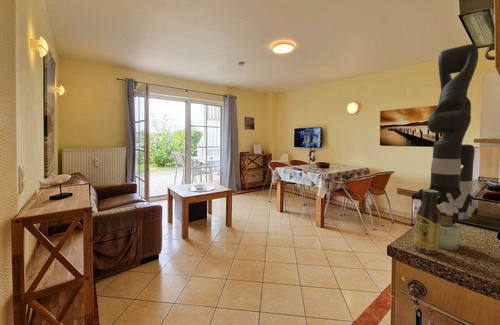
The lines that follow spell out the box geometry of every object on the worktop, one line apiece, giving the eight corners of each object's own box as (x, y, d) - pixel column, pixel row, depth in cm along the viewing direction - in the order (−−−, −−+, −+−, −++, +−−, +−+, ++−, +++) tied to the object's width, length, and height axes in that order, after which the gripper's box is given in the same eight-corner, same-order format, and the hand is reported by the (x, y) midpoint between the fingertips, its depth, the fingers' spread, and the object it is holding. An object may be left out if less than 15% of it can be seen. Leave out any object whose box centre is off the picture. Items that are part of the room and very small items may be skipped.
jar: (426, 236, 85) (427, 217, 84) (459, 243, 79) (460, 223, 78) (422, 244, 79) (423, 224, 78) (458, 252, 72) (459, 231, 72)
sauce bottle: (409, 246, 77) (411, 188, 75) (428, 246, 77) (431, 188, 75) (423, 256, 70) (426, 192, 69) (444, 256, 70) (448, 192, 69)
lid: (433, 219, 82) (433, 209, 82) (453, 223, 78) (454, 212, 78) (431, 223, 78) (431, 212, 78) (452, 227, 74) (453, 216, 74)
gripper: (475, 172, 74) (471, 223, 76) (420, 169, 84) (418, 214, 86) (475, 175, 69) (471, 230, 70) (417, 171, 79) (414, 219, 80)
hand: (442, 221), depth 78 cm, fingers closed on lid, 5 cm apart
